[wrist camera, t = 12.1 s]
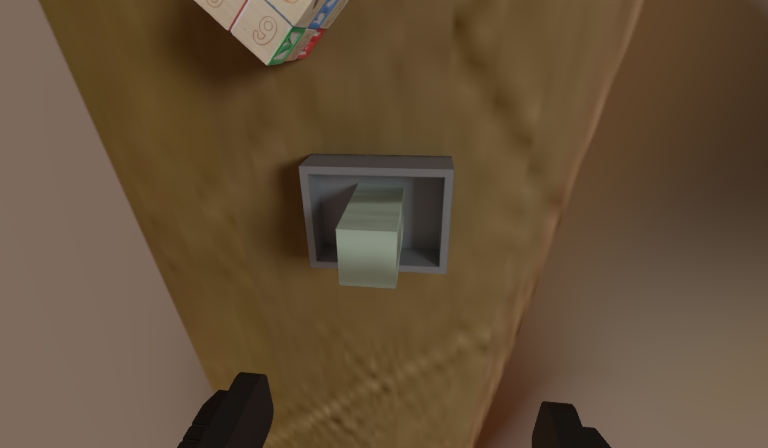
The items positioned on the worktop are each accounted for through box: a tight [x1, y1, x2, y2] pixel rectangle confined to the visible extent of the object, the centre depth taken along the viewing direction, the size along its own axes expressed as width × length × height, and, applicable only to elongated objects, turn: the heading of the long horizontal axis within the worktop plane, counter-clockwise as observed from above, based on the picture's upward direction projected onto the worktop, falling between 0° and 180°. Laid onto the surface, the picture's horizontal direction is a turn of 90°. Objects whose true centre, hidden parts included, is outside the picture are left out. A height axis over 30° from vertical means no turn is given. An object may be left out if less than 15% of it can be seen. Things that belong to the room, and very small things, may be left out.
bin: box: [299, 154, 454, 274], centre depth 36 cm, size 10×13×4 cm
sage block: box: [336, 183, 405, 289], centre depth 33 cm, size 5×4×10 cm
